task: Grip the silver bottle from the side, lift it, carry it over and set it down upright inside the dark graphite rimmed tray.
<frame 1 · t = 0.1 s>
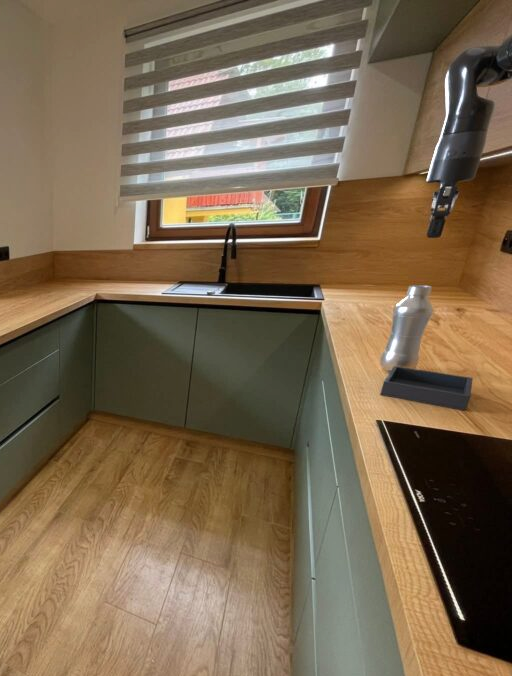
hand: (432, 236, 97), 30 cm above the worktop, tool pointing down, fingers open, 8 cm apart
tray: (423, 393, 89), on the worktop
silver bottle: (395, 371, 102), on the worktop
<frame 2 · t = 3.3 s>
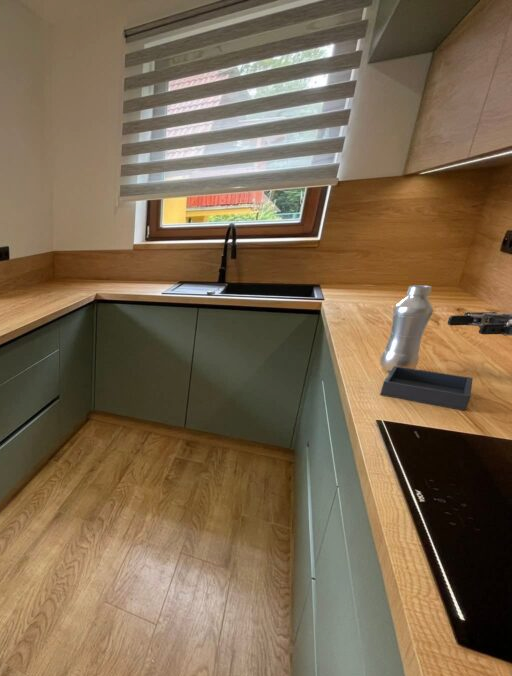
hand: (464, 324, 96), 11 cm above the worktop, tool horizontal, fingers open, 8 cm apart
nothing on the worktop moved.
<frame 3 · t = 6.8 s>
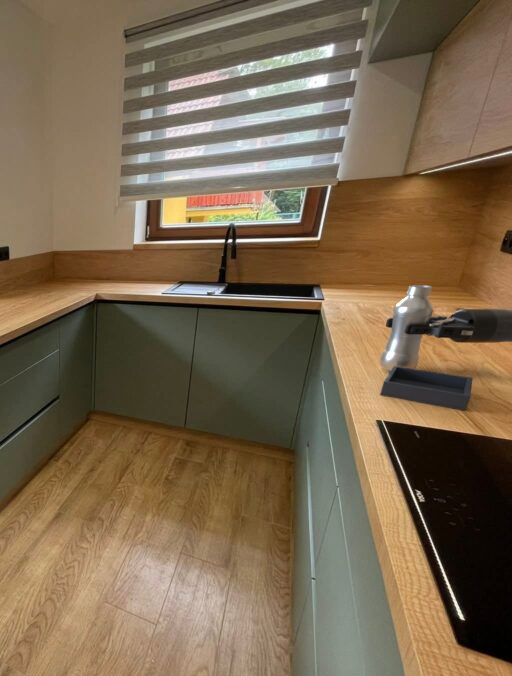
hand: (396, 325, 99), 11 cm above the worktop, tool horizontal, fingers closed on silver bottle, 6 cm apart
silver bottle: (395, 371, 102), on the worktop, touching gripper
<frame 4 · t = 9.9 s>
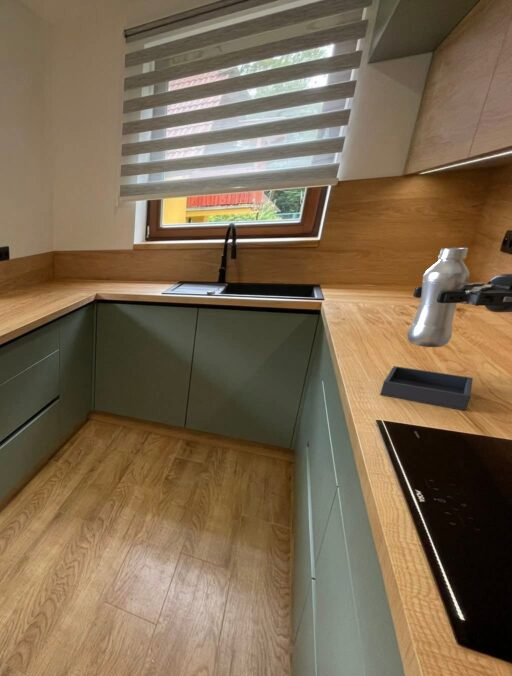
hand: (427, 294, 87), 20 cm above the worktop, tool horizontal, fingers closed on silver bottle, 6 cm apart
silver bottle: (424, 347, 91), point 8 cm above the worktop, touching gripper
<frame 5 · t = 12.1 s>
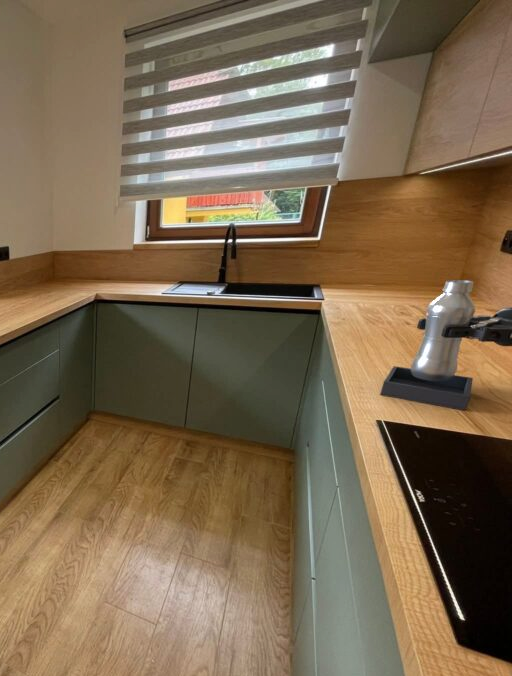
hand: (431, 327, 85), 14 cm above the worktop, tool horizontal, fingers closed on silver bottle, 6 cm apart
silver bottle: (429, 380, 88), point 3 cm above the worktop, touching gripper
when the fingers open (12 cm above the worktop, at t = 13.4 s): silver bottle stays where it is, resting on tray.
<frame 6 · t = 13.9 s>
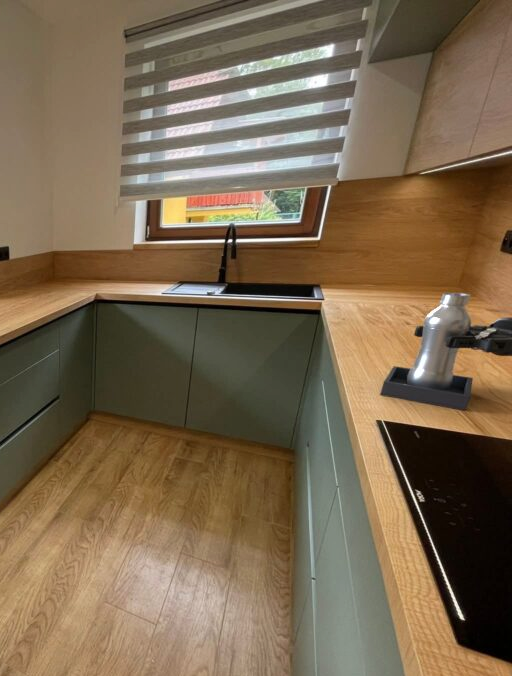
hand: (431, 336, 85), 12 cm above the worktop, tool horizontal, fingers open, 8 cm apart
silver bottle: (424, 391, 89), resting on tray
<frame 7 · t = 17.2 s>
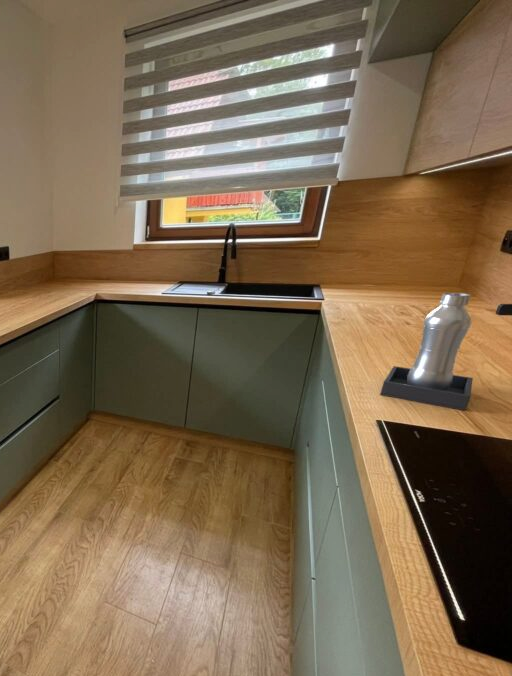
nothing on the worktop moved.
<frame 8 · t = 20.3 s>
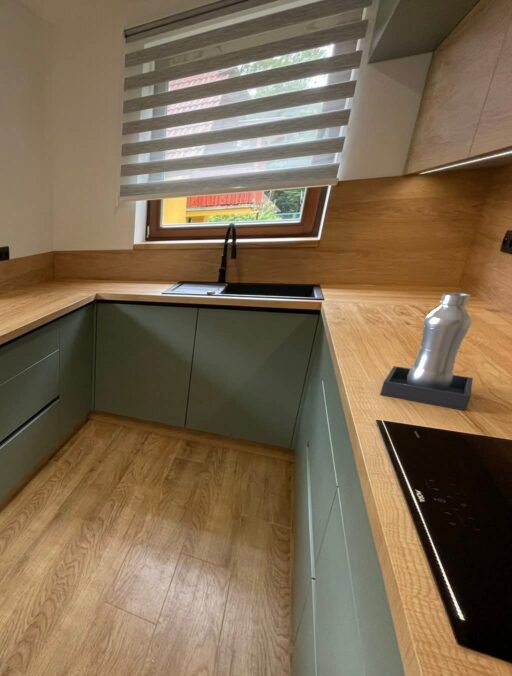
nothing on the worktop moved.
at the end: silver bottle inside the target area in the tray (0.1 cm from its centre), point 0.3 cm above the tray's base; silver bottle tilted 0°; the gripper is holding nothing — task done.
